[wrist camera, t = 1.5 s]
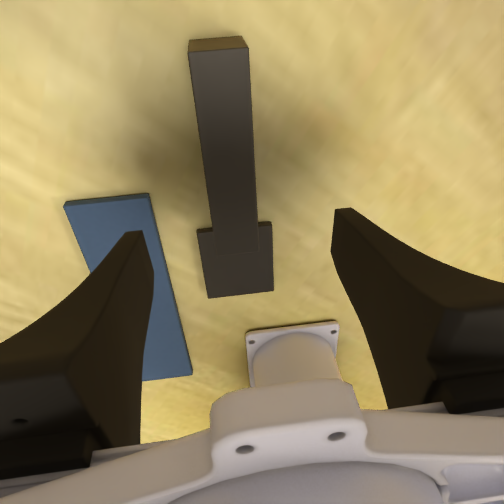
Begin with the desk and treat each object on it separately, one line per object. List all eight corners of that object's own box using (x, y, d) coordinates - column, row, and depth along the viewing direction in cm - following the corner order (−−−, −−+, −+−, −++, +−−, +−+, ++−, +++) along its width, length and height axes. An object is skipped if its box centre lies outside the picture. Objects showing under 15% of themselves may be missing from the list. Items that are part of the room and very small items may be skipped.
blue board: (192, 369, 34) (192, 375, 34) (136, 376, 34) (135, 382, 33) (148, 192, 23) (147, 197, 23) (65, 201, 23) (62, 206, 22)
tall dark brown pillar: (272, 286, 29) (280, 317, 26) (207, 294, 29) (208, 326, 26) (266, 33, 19) (276, 44, 16) (164, 41, 18) (158, 54, 16)
